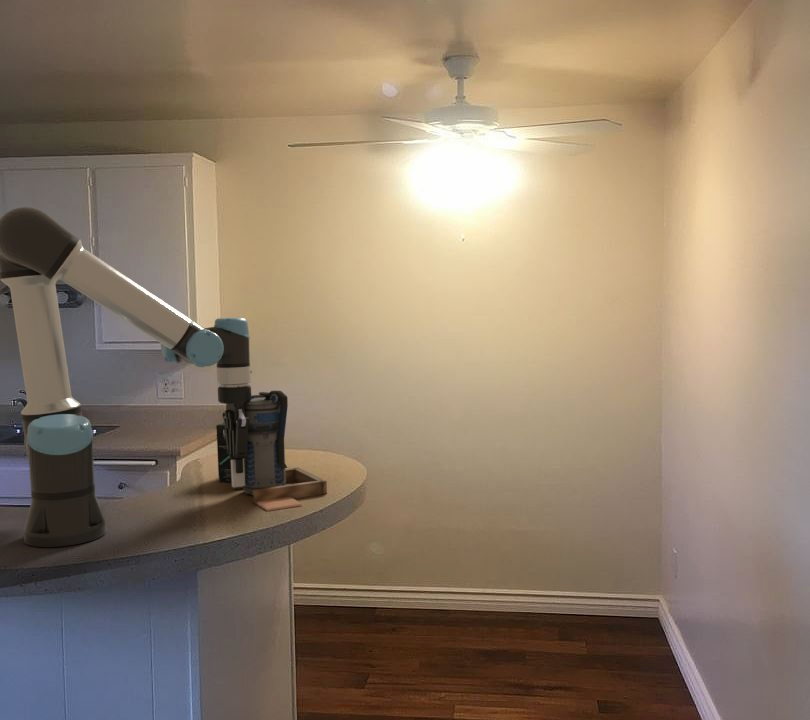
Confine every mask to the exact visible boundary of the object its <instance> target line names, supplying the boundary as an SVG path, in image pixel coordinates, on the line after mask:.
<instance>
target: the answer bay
mask: <svg viewBox="0 0 810 720" xmlns="http://www.w3.org/2000/svg"><path fill="white" fill-rule="evenodd" d="M285 476H286V483H291V482H296V483H292V484H286V485H283V486H276V487H269V488H261V489H254V490H253V495H252V499H253V502H252V503H253V504H255V505H257V502H259V501H266V500H273V499H280V498H286V497H291V498H293V499H300V498H308V497H313V496H314V497H315V496H319V495H320V496H321V495H327V493H328V489H327V487H328V486H327V485H328V484H327V483H328V482H327V481H328V480H326V479H324V478H322V477H319V476H317V475H315V474H313V473H311V472H308V471H307V470H305V469H302V468H301V467H291V468H285ZM231 480H232V478H231ZM241 488H242V486H241V487H232V486H231V489H232V490H241ZM242 489H243V488H242Z"/></svg>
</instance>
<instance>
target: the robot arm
mask: <svg viewBox="0 0 810 720" xmlns="http://www.w3.org/2000/svg"><path fill="white" fill-rule="evenodd" d="M59 280H60V281H61V282H63V283H65V284H66V285H68V286H70V287H71V288H72V289H74V290H76V291H78V292H79V293H80V294H82V295H84V296H86V297H87V298H89V299H91V300H92V301H93V302H95V303H97V304H98V305H100V306H101V307H102V308H104V309H106V310H107V311H109V312H111V313H113V314H114V315H115V316H117V317H119V318H121V319H122V320H123V321H125V322H126V323H129V325H131V326H132V327H134V328H136V329H138V330H139V331H141V332H143V333H144V334H145V335H147V336H149V337H150V338H152V339H153V340H155V341H157V342H159V343H160V353H161V357H162V359H163V361H164V362H165V363H168V364H169V363H170V364H171V363H172V364H173V363H175V364H179V363H188V364H192V365H195V366H196V367H198V368H204V367H211V366H214V365H215V364H216V384H218V385H219V386H218V387H217V400H218V401H217V402H218V403H220V404H225V410H224V412H222V418H223V423H224V425H225V435H226V444H227V453H228V454H230V460H231V478H232V482H231V488H232V487H241V486H245V471H244V458H245V457H247V446H248V426H249V418H248V417H247V418H246V410H245V409H244V403H245V402H249V401H251V395H252V386H251V385H250V383H251V374H253V370H252V369H251V363H250V356H251V355H250V338H251V337H250V332H249V324H248V320H247V319H246V318H244V317H223V318H222V317H221V318H219V317H218V318H216V319H215V320H214V325H213V326H211V327H203V326H202V325H200V324H198V323H197V322H196V321H194V320H192V319H191V318H190V317H188V316H187V315H186V314H184V313H182V312H181V311H179V310H178V309H176V308H174V307H173V306H171V305H170V304H169V303H167V302H165V301H164V300H163V299H161V298H160V297H158V296H156V295H155V294H153V293H152V292H150V291H149V290H147V289H146V288H144V287H143V286H142V285H139V283H137V282H136V281H134V280H132V279H131V278H129V277H128V276H127V275H124V274H123V273H122V272H120V271H119V270H117V269H115V268H114V267H113V266H111V265H110V264H108V263H107V262H105V261H103V260H102V259H100V258H99V257H98V256H96V255H95V254H93V253H92V252H90V251H88V250H87V249H85V248H84V247H83V243H82V239H81V238H78V237H77V236H76V235H74V234H73V233H71V232H69V230H68V229H66V228H65V227H63V226H62V225H60V223H58V221H56V220H55V219H53V217H51V216H50V215H48V214H47V213H46V212H45V211H42V210H40V209H38V208H35V207H30V206H28V207H27V206H23V207H15V208H13V209H11V210H9V211H6V212H5V213H4V214H2V216H1V217H0V281H1V282H2V283H3V284H4V285H6V286H7V287H8V288H9V290H10V297H11V302H12V303H11V304H12V309H13V315H14V316H13V317H14V321H15V322H14V323H15V329H16V336H17V344H18V348H19V349H18V350H19V355H20V356H19V357H20V362H21V368H22V369H21V370H22V374H23V382H24V389H25V396H26V405H25V406H24V407H23V408H22V410H21V411H20V414H21V422H22V429H23V434H24V441H23V442H24V443H23V444H24V449H25V453H26V455H27V457H28V464H29V465H28V467H29V481H30V494H31V499H30V500H31V503H30V505H29V510H28V513H27V516H26V521H25V525H24V526H23V527H24V528H23V542H24V543H25V544H26V545H27V546H31V547H36V548H37V547H39V548H59V547H68V546H74V545H79V544H84V543H87V542H91V541H93V540H97V539H100V538H101V537H103V536H105V535H106V533H107V532H108V530H107V527H108V526H107V519H106V517H105V515H104V512H103V510H102V508H101V505H100V502H99V500H98V498H97V495H96V494H97V493H96V483H95V481H96V478H95V465H94V449H93V438H94V431H93V429H92V424H91V421H90V420H89V419H88V418H86V417H85V416H83V412H82V405H81V403H80V402H79V401H78V400H76V399H75V398H74V397H73V395H72V389H71V383H70V376H69V369H68V361H67V355H66V348H65V343H64V342H65V341H64V336H63V335H64V334H63V328H62V322H61V321H62V320H61V316H60V315H61V313H60V308H59V300H58V294H57V287H56V284H57V282H58V281H59Z"/></svg>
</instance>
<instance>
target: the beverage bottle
mask: <svg viewBox="0 0 810 720" xmlns="http://www.w3.org/2000/svg"><path fill="white" fill-rule="evenodd" d="M288 405H289V404H288V395H286V394H285V393H284V392H283V391H282V390H271V391H269V392H267V391H260V392H258V394H254V395H252V394H251V401H249V402H245V403H244V409H245V410H246V418H247V417H248V418H249V426H248V446H247V457H245V458H244V471H245V486H242V490H243V491H244V493H245V494H247V495H251V496H253V490H254V489H261V488H269V487H276V486H283V485H287V482H286V476H285V469H288V466H287V464H286V457H285V456H286V454H285V453H286V451H285V433H286V425H287V424H286V423H287V416H288V415H287V413H288Z"/></svg>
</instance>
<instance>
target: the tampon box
mask: <svg viewBox="0 0 810 720" xmlns="http://www.w3.org/2000/svg"><path fill="white" fill-rule="evenodd" d="M216 444H217V446H216V447H217V466H218V469H217V470H218V471H217V473H218V482H219V483H232V480H231V460H230V454H228V453H227V444H226V435H225V425H224V422H222V423H220V424H216Z"/></svg>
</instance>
